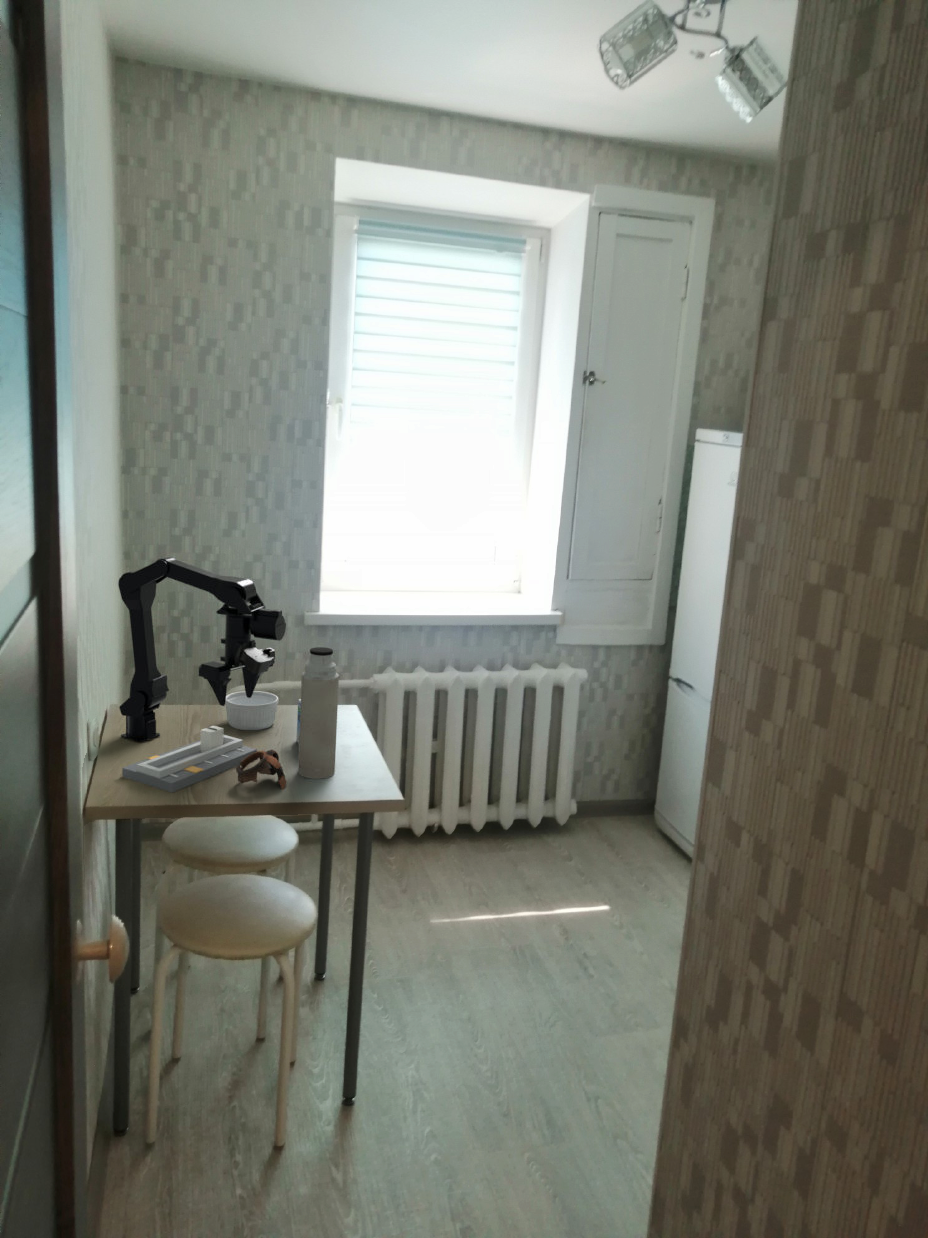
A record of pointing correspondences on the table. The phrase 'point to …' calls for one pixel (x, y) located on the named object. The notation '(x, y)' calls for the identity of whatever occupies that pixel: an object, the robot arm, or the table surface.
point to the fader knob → (211, 738)
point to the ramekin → (251, 710)
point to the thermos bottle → (318, 715)
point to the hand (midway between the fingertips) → (235, 701)
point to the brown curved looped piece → (261, 767)
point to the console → (187, 764)
